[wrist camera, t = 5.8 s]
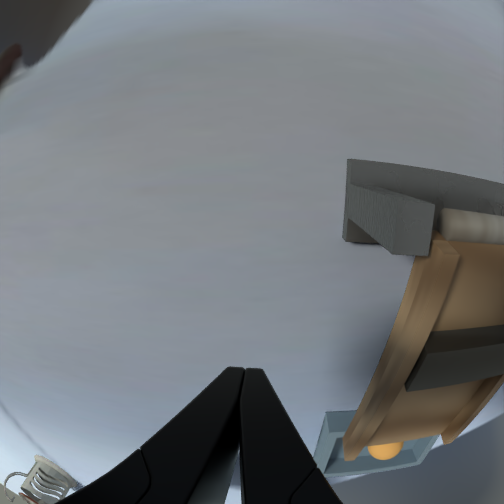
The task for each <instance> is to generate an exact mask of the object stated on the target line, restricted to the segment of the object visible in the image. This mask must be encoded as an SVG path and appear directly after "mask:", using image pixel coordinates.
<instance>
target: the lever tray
mask: <svg viewBox="0 0 504 504" xmlns="http://www.w3.org/2000/svg"><path fill="white" fill-rule="evenodd" d="M503 382H504V216H498V215H491V214H485V213H478V212H471V211H464V210H456V209H449V208H443V209H442V210H441V211H440V213H439V215H438V218H437V231H436V230H432V234H431V241H430V247H429V253H428V256H418V255H416V256H415V260H414V263H413V267H412V270H411V274H410V277H409V280H408V284H407V287H406V290H405V293H404V296H403V300H402V303H401V306H400V309H399V311H398V314H397V317H396V320H395V323H394V326H393V328H392V331H391V334H390V336H389V339H388V341H387V344H386V347H385V349H384V352H383V354H382V356H381V359H380V361H379V364H378V366H377V368H376V371H375V373H374V375H373V378H372V380H371V382H370V384H369V386H368V389H367V391H366V393H365V395H364V397H363V399H362V401H361V403H360V405H359V407H358V409H357V411H356V413H355V415H354V417H353V419H352V421H351V423H350V425H349V427H348V429H347V431H346V432H345V434H344V436H343V438H342V440H343V450H344V461H352V460H355V459H356V457H357V456H358V455H359V453H360V452H361V451H362V449H363V448H364V447H366V446H375V445H383V444H390V443H397V442H403V441H409V440H414V439H420V438H425V437H429V436H434V435H438V434H441V436H442V440H443V443H444V445H445V444H449V443H451V442H452V441H453V440H454V439H455V438H456V437H457V436H458V435H459V434H460V433H461V432H462V431H463V430H464V429H465V428H466V427H467V426H468V425H469V424H470V423H471V421H472V420H473V419H474V418H475V417H476V416H477V415H478V414H479V412H480V411H481V410H482V409H483V408H484V406H485V405H486V404H487V403H488V402H489V400H490V399H491V398H492V397H493V395H494V394H495V393H496V392H497V390H498V389H499V388H500V386H501V385H502V384H503Z"/></svg>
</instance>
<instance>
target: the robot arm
mask: <svg viewBox="0 0 504 504" xmlns="http://www.w3.org/2000/svg"><path fill="white" fill-rule="evenodd" d="M140 449H141V450H140ZM140 449H137V450H136V451H135V452H133V453H132V454H131V455H130V456H129V457H127V458H126V459H125V460H124V461H122V462H121V463H120V464H118V465H117V466H116V467H114V468H113V469H112V470H110V471H109V472H108V473H106V474H104V475H103V476H101V477H100V478H98V479H97V480H95V481H94V482H92V483H90V484H89V485H87V486H85V487H83V488H82V489H80V490H78V491H76V492H75V493H73V494H71V495H69V496H67V497H65V498H64V499H62V500H60V501H58V502H56V503H54V504H224V503H225V500H226V496H227V493H228V489H229V486H230V482H231V478H232V475H233V471H234V467H235V464H236V460H237V456H238V451H239V450H240V479H241V501H242V504H343V503H342V502H341V500H340V499H339V498H338V496H337V495H336V493H335V492H334V490H333V489H332V487H331V486H330V484H329V483H328V481H327V480H326V478H325V477H324V475H323V473H322V472H321V470H320V468H317V464H316V462H315V460H314V459H313V457H312V455H311V454H310V452H309V450H308V449H307V447H306V445H305V443H304V442H303V440H302V438H301V437H300V435H299V433H298V431H297V430H296V428H295V426H294V424H293V423H292V421H291V419H290V417H289V416H288V414H287V412H286V410H285V408H284V407H283V405H282V403H281V401H280V400H279V398H278V396H277V394H276V392H275V391H274V389H273V387H272V385H271V383H270V381H269V380H268V378H267V376H266V374H265V372H264V371H263V369H260V368H246V370H245V369H244V368H243V367H231V366H230V367H227V368H226V369H225V370H224V371H223V372H222V373H221V374H220V375H219V376H218V377H217V378H216V379H214V380H213V381H212V382H211V383H210V384H209V385H208V386H207V387H206V388H205V389H204V390H203V391H202V392H201V393H200V394H199V395H198V396H197V397H195V398H194V399H193V400H192V401H191V402H190V403H189V404H188V405H187V406H186V407H185V408H184V409H183V410H181V411H180V412H179V413H178V414H177V415H176V416H175V417H174V418H173V419H171V420H170V421H169V422H168V423H167V424H166V425H165V426H164V427H163V428H161V429H160V430H159V431H158V432H157V433H156V434H155V435H153V436H152V437H151V438H150V439H149V440H148V441H146V442H145V443H144V444H143V445H142V446H141V447H140Z"/></svg>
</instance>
